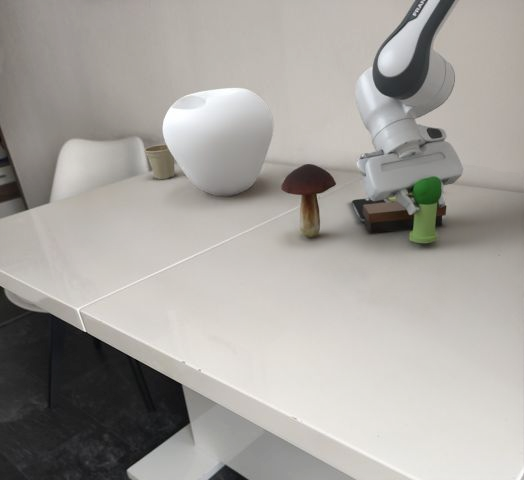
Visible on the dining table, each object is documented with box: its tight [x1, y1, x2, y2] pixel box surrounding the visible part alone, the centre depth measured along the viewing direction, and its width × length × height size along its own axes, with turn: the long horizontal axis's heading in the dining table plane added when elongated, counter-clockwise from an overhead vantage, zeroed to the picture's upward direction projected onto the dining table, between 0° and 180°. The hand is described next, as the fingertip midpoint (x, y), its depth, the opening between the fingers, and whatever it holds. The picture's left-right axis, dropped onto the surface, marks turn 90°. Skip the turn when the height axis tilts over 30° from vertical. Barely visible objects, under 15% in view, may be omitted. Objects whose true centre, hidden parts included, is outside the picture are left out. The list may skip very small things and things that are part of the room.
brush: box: [363, 199, 448, 234], centre depth 114 cm, size 16×6×4 cm, turn 93°
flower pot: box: [143, 143, 176, 180], centre depth 164 cm, size 9×9×9 cm
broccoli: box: [408, 176, 442, 244], centre depth 102 cm, size 6×5×12 cm
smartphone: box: [351, 197, 386, 224], centre depth 124 cm, size 8×1×15 cm
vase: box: [162, 87, 274, 197], centre depth 141 cm, size 28×27×25 cm
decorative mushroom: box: [280, 163, 337, 239], centre depth 110 cm, size 11×11×15 cm
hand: (428, 209), depth 102 cm, fingers closed on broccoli, 4 cm apart
